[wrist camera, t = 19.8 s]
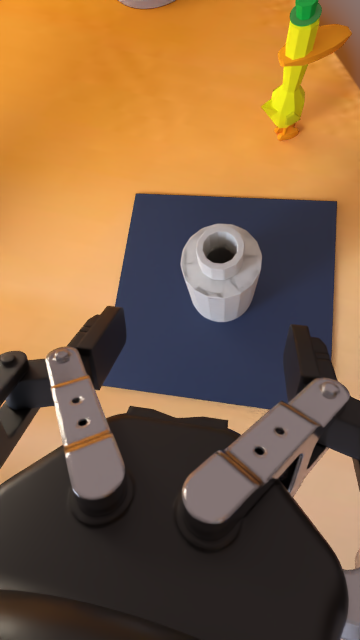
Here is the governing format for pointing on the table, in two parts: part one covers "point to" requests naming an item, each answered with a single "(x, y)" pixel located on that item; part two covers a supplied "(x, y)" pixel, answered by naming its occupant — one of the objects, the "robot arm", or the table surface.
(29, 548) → the robot arm
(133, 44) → the table surface
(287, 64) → the toy figure
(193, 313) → the paper sheet
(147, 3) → the monster figurine
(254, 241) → the white vase
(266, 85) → the table surface
